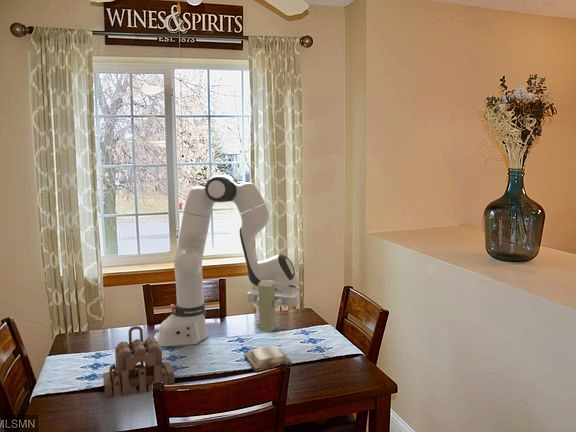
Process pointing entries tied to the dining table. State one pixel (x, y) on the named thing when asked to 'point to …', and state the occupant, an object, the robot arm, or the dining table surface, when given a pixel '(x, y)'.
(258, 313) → the water lily
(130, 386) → the wooden puzzle
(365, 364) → the dining table surface
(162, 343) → the robot arm
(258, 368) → the plinth
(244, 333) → the dining table surface
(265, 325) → the olive pillar
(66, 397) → the dining table surface
